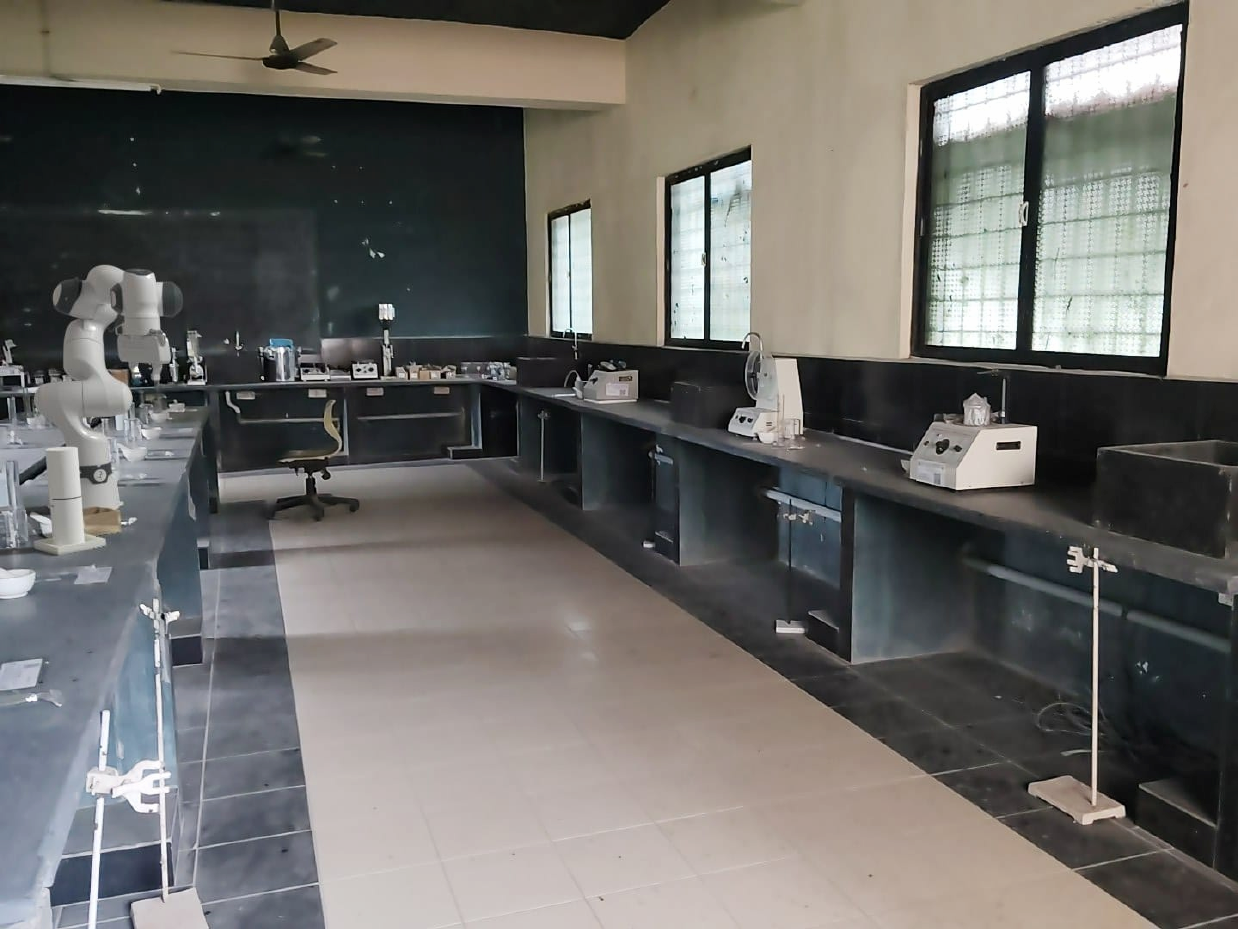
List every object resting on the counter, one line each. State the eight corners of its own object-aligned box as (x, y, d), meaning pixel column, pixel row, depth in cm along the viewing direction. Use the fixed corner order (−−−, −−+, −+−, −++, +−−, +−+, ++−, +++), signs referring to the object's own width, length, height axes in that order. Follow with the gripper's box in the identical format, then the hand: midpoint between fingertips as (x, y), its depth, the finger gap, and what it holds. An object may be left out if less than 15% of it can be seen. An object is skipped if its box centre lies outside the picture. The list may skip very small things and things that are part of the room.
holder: (62, 533, 275) (60, 512, 274) (101, 526, 284) (99, 505, 283) (83, 539, 269) (81, 517, 268) (121, 531, 278) (120, 510, 277)
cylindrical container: (71, 549, 256) (64, 451, 252) (46, 547, 257) (38, 450, 253) (91, 542, 263) (83, 447, 259) (66, 541, 264) (59, 446, 260)
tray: (34, 548, 259) (34, 541, 258) (81, 539, 268) (81, 532, 268) (58, 555, 252) (57, 547, 252) (106, 546, 262) (105, 538, 261)
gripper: (175, 329, 275) (178, 380, 278) (133, 327, 287) (136, 376, 289) (153, 329, 270) (156, 381, 272) (111, 328, 282) (115, 378, 284)
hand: (146, 379), depth 281 cm, fingers open, 8 cm apart
